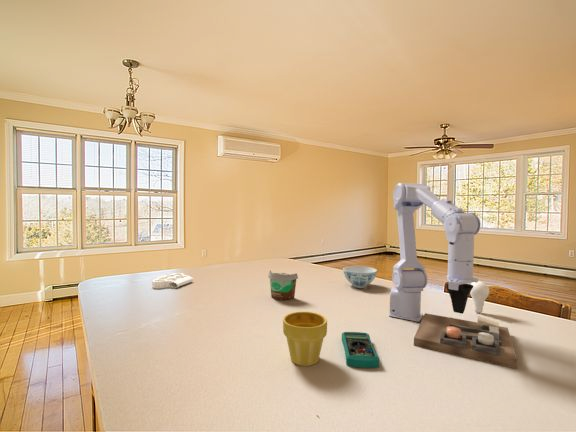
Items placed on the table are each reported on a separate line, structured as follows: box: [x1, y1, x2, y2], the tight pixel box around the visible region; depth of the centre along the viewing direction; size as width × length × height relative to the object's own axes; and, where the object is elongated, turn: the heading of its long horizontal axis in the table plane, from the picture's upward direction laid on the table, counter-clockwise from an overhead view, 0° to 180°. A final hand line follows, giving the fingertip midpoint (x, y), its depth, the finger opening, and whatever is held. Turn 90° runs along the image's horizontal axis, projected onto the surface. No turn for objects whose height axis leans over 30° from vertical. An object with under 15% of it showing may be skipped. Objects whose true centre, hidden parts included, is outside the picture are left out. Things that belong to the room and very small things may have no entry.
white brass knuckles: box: [151, 272, 194, 290], centre depth 141 cm, size 3×18×15 cm
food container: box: [267, 270, 299, 301], centre depth 121 cm, size 12×6×10 cm, turn 68°
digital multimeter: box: [341, 331, 380, 369], centre depth 78 cm, size 7×15×3 cm, turn 175°
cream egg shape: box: [478, 332, 494, 345], centre depth 76 cm, size 3×3×2 cm
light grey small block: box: [489, 326, 499, 340], centre depth 81 cm, size 2×4×2 cm, turn 149°
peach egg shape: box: [446, 326, 461, 338], centre depth 80 cm, size 3×3×2 cm
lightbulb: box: [469, 280, 490, 314], centre depth 108 cm, size 6×6×11 cm
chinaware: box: [342, 265, 378, 289], centre depth 142 cm, size 15×15×8 cm
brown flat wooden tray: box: [413, 312, 518, 369], centre depth 86 cm, size 22×22×4 cm
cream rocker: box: [476, 315, 500, 330], centre depth 89 cm, size 5×4×1 cm
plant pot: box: [282, 311, 328, 367], centre depth 74 cm, size 10×10×10 cm
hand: (458, 312), depth 80 cm, fingers closed
